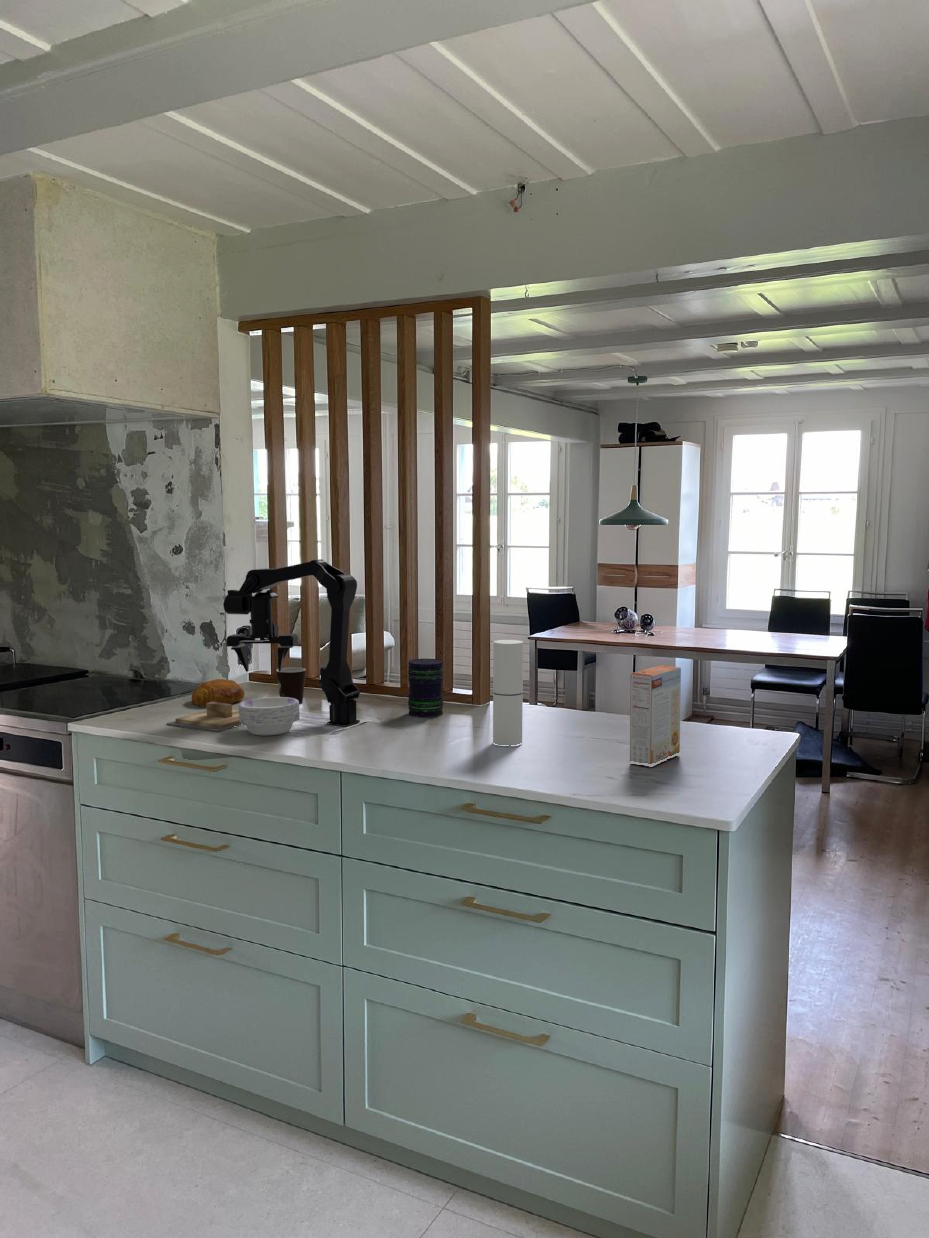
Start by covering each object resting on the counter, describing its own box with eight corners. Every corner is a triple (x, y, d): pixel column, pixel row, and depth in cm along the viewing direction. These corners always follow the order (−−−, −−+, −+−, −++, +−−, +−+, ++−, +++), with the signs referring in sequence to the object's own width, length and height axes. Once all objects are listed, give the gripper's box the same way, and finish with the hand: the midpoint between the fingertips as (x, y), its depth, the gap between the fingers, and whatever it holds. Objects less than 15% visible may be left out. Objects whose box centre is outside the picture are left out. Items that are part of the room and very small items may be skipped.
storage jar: (449, 715, 258) (449, 662, 256) (416, 718, 253) (416, 664, 252) (434, 709, 266) (434, 657, 265) (402, 712, 262) (402, 659, 261)
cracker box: (657, 752, 218) (659, 664, 216) (680, 756, 214) (683, 666, 212) (627, 764, 207) (629, 671, 205) (651, 768, 203) (653, 674, 201)
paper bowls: (235, 727, 242) (235, 697, 241) (294, 723, 248) (293, 694, 247) (243, 740, 228) (242, 709, 227) (304, 736, 233) (304, 705, 232)
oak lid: (262, 717, 253) (262, 701, 253) (221, 728, 239) (220, 712, 239) (218, 711, 261) (217, 695, 260) (175, 722, 247) (175, 705, 246)
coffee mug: (303, 706, 270) (302, 672, 269) (273, 706, 270) (273, 672, 269) (310, 698, 282) (310, 666, 280) (282, 698, 282) (281, 665, 281)
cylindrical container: (497, 747, 222) (498, 644, 219) (489, 741, 228) (489, 640, 226) (526, 746, 223) (527, 643, 221) (516, 739, 230) (517, 639, 228)
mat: (269, 717, 255) (269, 716, 254) (217, 732, 237) (217, 730, 237) (219, 711, 263) (219, 709, 263) (166, 724, 246) (166, 723, 245)
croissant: (251, 709, 277) (254, 682, 276) (205, 709, 265) (208, 682, 265) (225, 701, 287) (228, 675, 286) (179, 701, 275) (182, 674, 275)
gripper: (302, 611, 261) (304, 666, 262) (238, 612, 263) (240, 667, 264) (291, 615, 250) (293, 673, 251) (224, 616, 252) (226, 673, 253)
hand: (263, 671), depth 255 cm, fingers open, 9 cm apart
